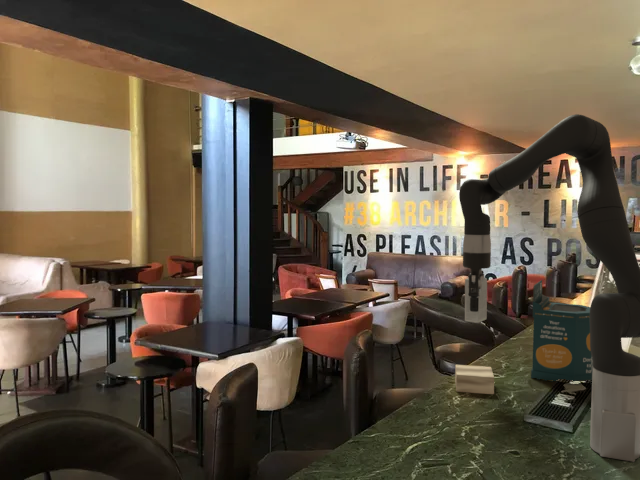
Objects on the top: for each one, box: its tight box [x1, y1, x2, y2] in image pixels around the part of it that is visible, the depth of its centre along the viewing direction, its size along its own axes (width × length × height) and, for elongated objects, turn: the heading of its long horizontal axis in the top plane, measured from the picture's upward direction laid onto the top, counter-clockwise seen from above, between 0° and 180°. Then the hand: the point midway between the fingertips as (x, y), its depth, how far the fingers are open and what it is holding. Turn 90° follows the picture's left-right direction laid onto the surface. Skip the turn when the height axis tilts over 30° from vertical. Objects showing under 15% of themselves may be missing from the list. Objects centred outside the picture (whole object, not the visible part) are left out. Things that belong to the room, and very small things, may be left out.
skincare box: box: [464, 277, 488, 324], centre depth 150 cm, size 6×4×12 cm
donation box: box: [530, 280, 593, 382], centre depth 161 cm, size 16×16×28 cm
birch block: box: [454, 364, 495, 395], centre depth 151 cm, size 10×10×5 cm
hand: (475, 308), depth 150 cm, fingers closed on skincare box, 7 cm apart
